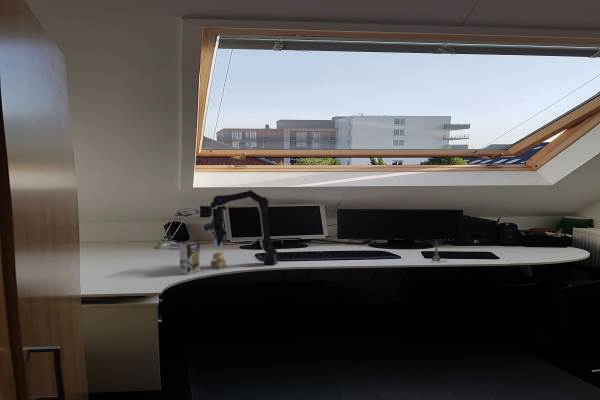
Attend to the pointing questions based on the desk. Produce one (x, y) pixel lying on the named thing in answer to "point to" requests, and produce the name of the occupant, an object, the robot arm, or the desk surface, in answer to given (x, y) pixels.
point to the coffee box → (189, 257)
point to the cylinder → (216, 243)
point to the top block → (218, 257)
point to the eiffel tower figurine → (437, 257)
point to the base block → (218, 264)
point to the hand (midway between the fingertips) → (218, 244)
